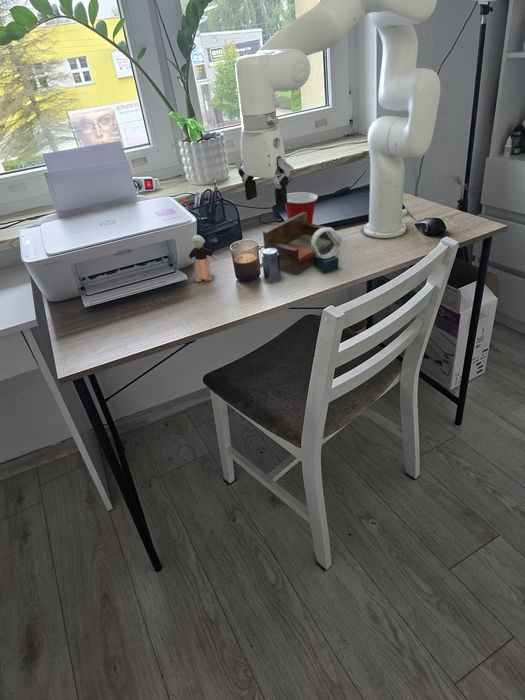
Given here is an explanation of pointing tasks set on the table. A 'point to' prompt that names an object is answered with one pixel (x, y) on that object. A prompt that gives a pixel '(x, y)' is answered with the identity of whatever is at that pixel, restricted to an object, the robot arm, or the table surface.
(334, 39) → the robot arm
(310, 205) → the plastic cup
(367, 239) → the table surface
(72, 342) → the table surface
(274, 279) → the pepper pot
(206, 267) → the grandmother figurine
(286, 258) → the sofa
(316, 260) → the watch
